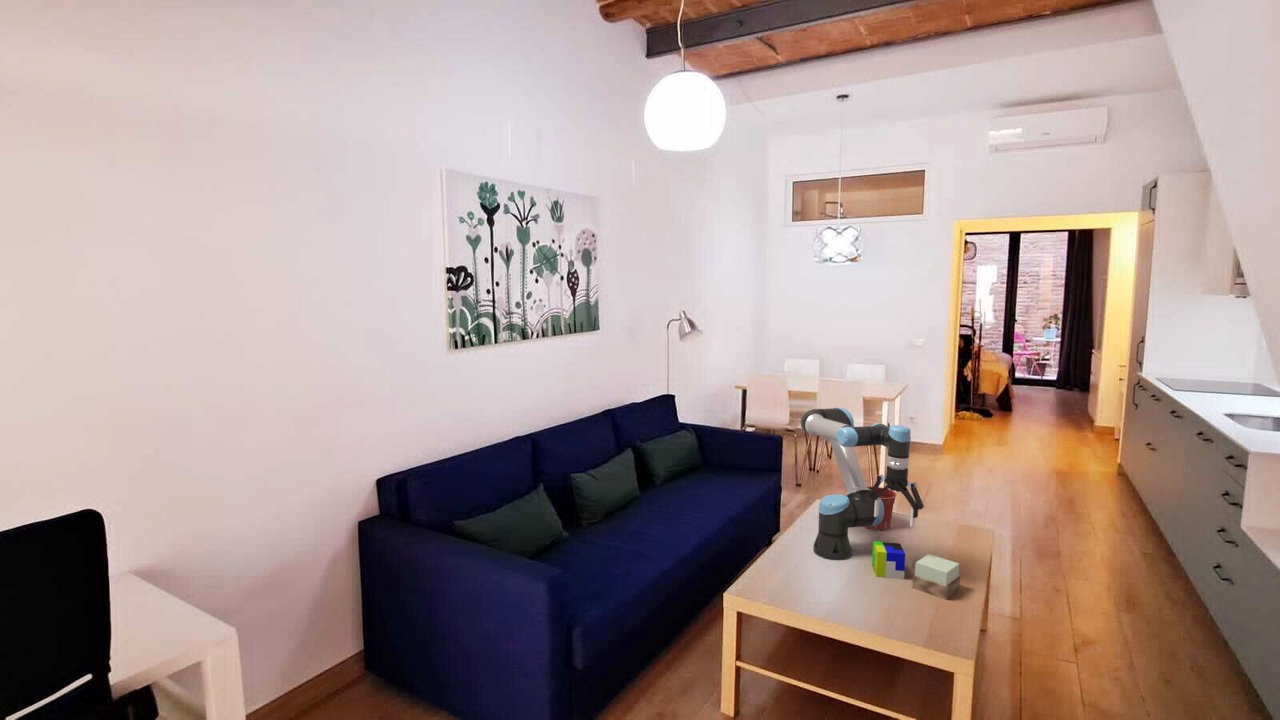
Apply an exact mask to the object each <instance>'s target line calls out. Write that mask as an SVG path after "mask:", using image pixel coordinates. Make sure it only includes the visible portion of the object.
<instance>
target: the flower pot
mask: <svg viewBox="0 0 1280 720" xmlns="http://www.w3.org/2000/svg"><path fill="white" fill-rule="evenodd" d="M867 488H869V489H872V488H873V486H867ZM883 488H884V487H880V486H879V487H878V488H877V490H876V491H875V493H874V495H876V494H877V493H878V492H879V491H881V490H882V489H883ZM897 494H898V493H897V492H896V491H892V490H891V489H888V490H886V491H885V492H884V493H883V494H882V495H880V496H879V498H880V499H881V500H882V502H883V505H884V516H883V519H882V521H881V523H880V524H878V525H873V526H864V527H863V528H866V529H868V530H871V529H872V531H878V530H879V531H880V532H881V531H883V532H884V531H888V530H889V529H890V528H891V524H892V519H893V517H892V516H893V511H894V510H893V509H894V504H895V501H896V497H897V496H898V495H897Z"/></svg>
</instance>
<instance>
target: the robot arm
mask: <svg viewBox="0 0 1280 720" xmlns="http://www.w3.org/2000/svg"><path fill="white" fill-rule="evenodd" d="M854 424H855V421H854V418H853V415H852V413H851V412H850V411H849V410H848V409H846V408H842V407H833V408H813V409H809V410H808V411H806V412H805V413H803V415H802V416H801V418H800V428H801V429H802V431H803V432H804V433H805V434H807V435H810V436H813V437H814V436H815V437H816V436H817V437H818V436H820V437H824V438H825V440H826V442H828V443H830V445H831V448H832V451H833V454H834V458H835V460H836V463H837V467H838V469H839V472H840V475H841V480H842V483H843V485H844V488H845V491H846V494H845V495H844V494H837V493H836V494H833V493H832V494H828V495H825V496H823V497H822V498H821V499H820V501H819V506H818V529H817V530H818V531H817V532H818V533H817V535H816V538H815V541H814V542H813V553H814V554H815V555H817V556H819V557H820V558H821V557H822V558H823V559H826V560H827V559H828V560H834V561H835V560H836V561H837V560H838V561H839V560H840V561H842V560H846V559H850V558H851V557H852V553H853V552H852V551H853V550H852V546H851V542H850V538H849V535H848V534H849V529H851V528H860V527H861V528H862V527H863V528H865V527H864V526H873V525H878V524H880V523H881V521H882V519H883V516H884V505H883V502H882V500H881V499H880V498H879V496H880V495H882V494H883V493H884V492H885V491H886V490H888V489H889V490H892V491H894V492H896V493H901V494H902V495H903V496H904V497H905V499H906V500H907V502H908V503H909V504H910V506H911V509H910V520H909V527H913V526H915V524H916V523H915V522H916V519H917V518H918V517H919V511H920V510H922V509H924V508H925V505H924V503H923V500H922V499H921V496H920V494H919V491H918V488H917V482H916V481H914V482H909V480H908V478H909V477H908V476H909V462H910V449H911V448H910V447H911V439H912V437H911V429H910V427H908V426H904V425H899V424H897V425H896V424H894V425H891V426H887V425H885V424H883V423H879V422H876V423H873V424H871V425H869V426H868V425H867V426H866V425H865V426H855V425H854ZM868 446H883V447H885V448H887V458H886V465H887V466H886V475H885V476H884V475H883V474H880V475H878V476H877V478H876V482H875V483H874V485H873V486H872V487H873V488H872V489H869V488H867V487H868V486H867V484H866V480H865V478H864V475H863V471H862V468H861V465H860V462H859V459H858V457H857V454H856V451H855V447H868ZM884 481H885V483H886V485H885V486H884V487H882V488H883V489H882V490H881V491H879V492H878V493H877V494H876V495H874V493H875V491H876V490H877V488H878V487H880V485H881V484H882V483H883V482H884ZM908 488H909V489H910V491H909V489H908ZM910 492H911V493H912V495H911V493H910Z"/></svg>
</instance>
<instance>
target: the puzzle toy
mask: <svg viewBox="0 0 1280 720" xmlns="http://www.w3.org/2000/svg"><path fill="white" fill-rule="evenodd" d="M871 557H872V558H871V559H872V560H871V567H872V569H873V572H874V575H875V577H876V578H886V579H895V580H896V579H897V580H905V568H906V552H905V550H904V548H903V546H902V545H901V543H898V542H885V541H875V540H874V541H872V555H871Z"/></svg>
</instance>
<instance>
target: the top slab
mask: <svg viewBox="0 0 1280 720" xmlns="http://www.w3.org/2000/svg"><path fill="white" fill-rule="evenodd" d="M914 566H915V570H914V575H915V576H918V577H920V578H923V579H926V580H929V581H932V582H935V583H938V584H941V585H944V586H947V585H948V584H950V583H951V582H952V581H954V580H955V579H956V578H958V577H960V563H958V562H955V561H952V560H949V559H946V558H942V557H940V556H936V555H933V554H929V553H928V554H926V555H925V556H924V557H922V558H920V559H918V560H917V561H915V565H914Z"/></svg>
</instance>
